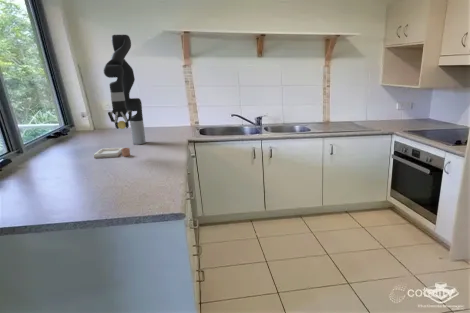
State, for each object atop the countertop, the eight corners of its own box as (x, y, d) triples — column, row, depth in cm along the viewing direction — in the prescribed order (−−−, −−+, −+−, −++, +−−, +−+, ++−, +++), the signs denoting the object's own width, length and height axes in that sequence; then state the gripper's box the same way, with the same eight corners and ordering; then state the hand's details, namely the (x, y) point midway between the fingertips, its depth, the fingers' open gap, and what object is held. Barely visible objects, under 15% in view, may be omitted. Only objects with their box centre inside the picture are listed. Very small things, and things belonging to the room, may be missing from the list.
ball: (119, 128, 171) (118, 120, 170) (127, 127, 172) (126, 119, 171) (117, 129, 167) (115, 121, 165) (125, 129, 167) (124, 121, 166)
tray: (101, 152, 184) (101, 148, 184) (123, 151, 186) (123, 147, 185) (94, 158, 171) (93, 154, 170) (117, 156, 173) (117, 152, 172)
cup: (123, 155, 176) (122, 148, 175) (131, 154, 177) (130, 147, 175) (121, 157, 172) (120, 149, 170) (129, 156, 172) (128, 149, 171)
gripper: (132, 99, 169) (135, 126, 174) (107, 100, 167) (112, 127, 172) (129, 100, 162) (133, 128, 166) (103, 101, 160) (108, 130, 165)
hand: (122, 128), depth 169 cm, fingers closed on ball, 5 cm apart
